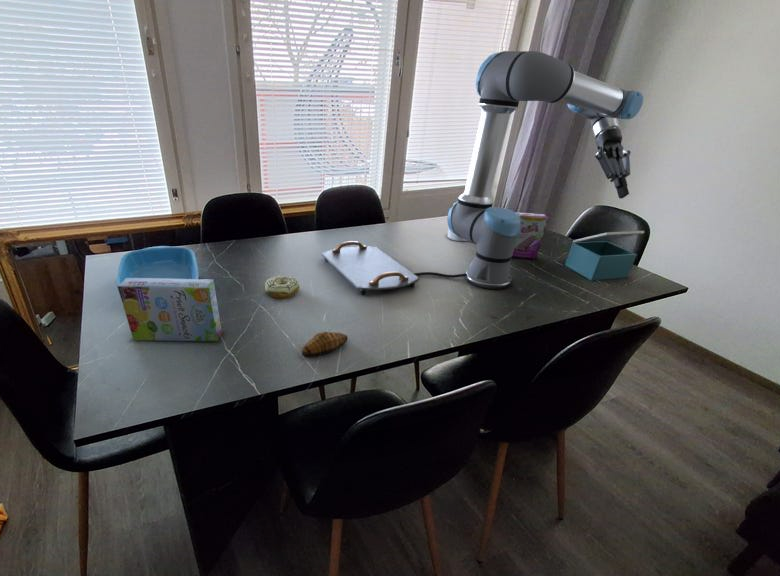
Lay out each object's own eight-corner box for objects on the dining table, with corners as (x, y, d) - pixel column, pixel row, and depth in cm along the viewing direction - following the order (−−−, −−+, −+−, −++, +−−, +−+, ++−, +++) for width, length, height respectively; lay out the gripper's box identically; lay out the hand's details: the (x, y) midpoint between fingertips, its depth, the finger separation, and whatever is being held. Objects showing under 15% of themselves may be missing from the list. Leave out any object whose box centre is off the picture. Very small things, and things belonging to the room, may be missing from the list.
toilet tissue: (443, 234, 187) (447, 211, 181) (468, 233, 189) (473, 210, 183) (452, 241, 178) (456, 218, 173) (478, 241, 180) (483, 217, 175)
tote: (626, 277, 152) (637, 254, 147) (591, 280, 149) (600, 256, 144) (598, 262, 164) (607, 240, 159) (564, 265, 161) (572, 242, 156)
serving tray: (317, 257, 157) (317, 241, 153) (371, 250, 165) (373, 235, 162) (361, 300, 128) (362, 282, 125) (424, 290, 136) (427, 272, 133)
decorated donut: (261, 297, 127) (259, 286, 125) (271, 283, 136) (270, 272, 134) (294, 301, 126) (293, 289, 124) (302, 286, 135) (302, 275, 133)
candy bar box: (507, 257, 165) (518, 215, 156) (505, 253, 169) (515, 211, 160) (536, 259, 164) (549, 217, 155) (533, 255, 169) (545, 213, 159)
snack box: (222, 331, 110) (214, 278, 101) (217, 342, 105) (208, 288, 97) (140, 330, 109) (125, 276, 100) (132, 341, 104) (115, 285, 96)
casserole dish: (205, 308, 120) (201, 285, 116) (119, 319, 113) (112, 295, 109) (196, 262, 148) (193, 242, 144) (127, 269, 141) (121, 248, 137)
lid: (644, 233, 144) (644, 230, 144) (606, 234, 141) (606, 232, 140) (607, 240, 159) (607, 238, 159) (572, 242, 155) (572, 240, 155)
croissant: (310, 364, 99) (310, 346, 96) (295, 351, 103) (294, 334, 101) (354, 347, 106) (355, 330, 103) (338, 335, 110) (339, 319, 108)
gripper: (614, 142, 150) (630, 202, 146) (583, 141, 147) (599, 202, 143) (631, 127, 143) (649, 189, 139) (600, 126, 140) (617, 189, 136)
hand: (624, 196), depth 141 cm, fingers closed
